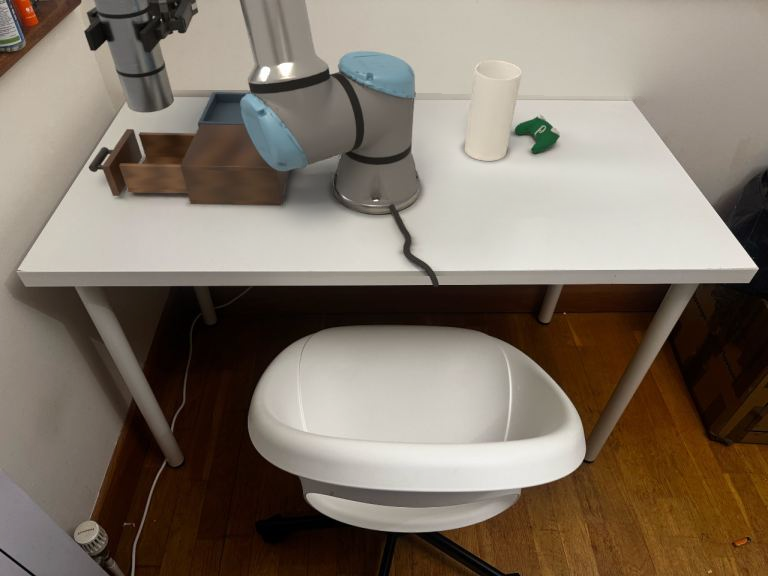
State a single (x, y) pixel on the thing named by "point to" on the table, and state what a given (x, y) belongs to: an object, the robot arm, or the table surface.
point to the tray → (223, 109)
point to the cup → (492, 109)
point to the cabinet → (230, 169)
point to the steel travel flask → (135, 54)
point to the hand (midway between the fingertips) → (117, 41)
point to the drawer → (145, 163)
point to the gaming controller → (539, 132)
